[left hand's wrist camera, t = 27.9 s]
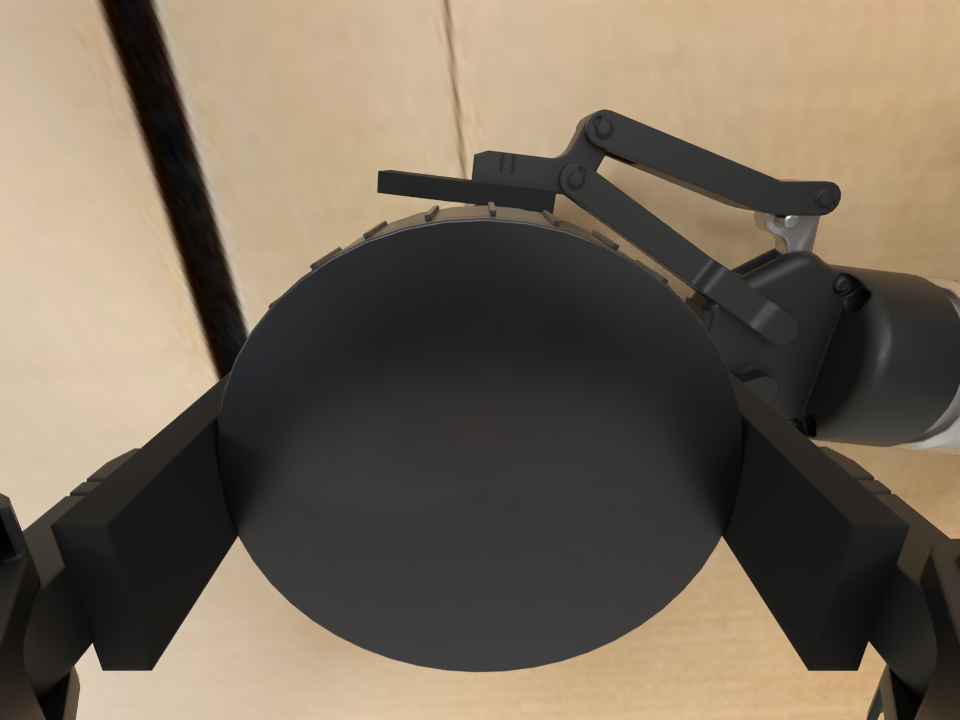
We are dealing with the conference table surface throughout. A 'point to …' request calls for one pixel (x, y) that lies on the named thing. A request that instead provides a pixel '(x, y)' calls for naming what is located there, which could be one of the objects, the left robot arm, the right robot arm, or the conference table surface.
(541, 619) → the lid
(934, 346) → the right robot arm
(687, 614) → the conference table surface
